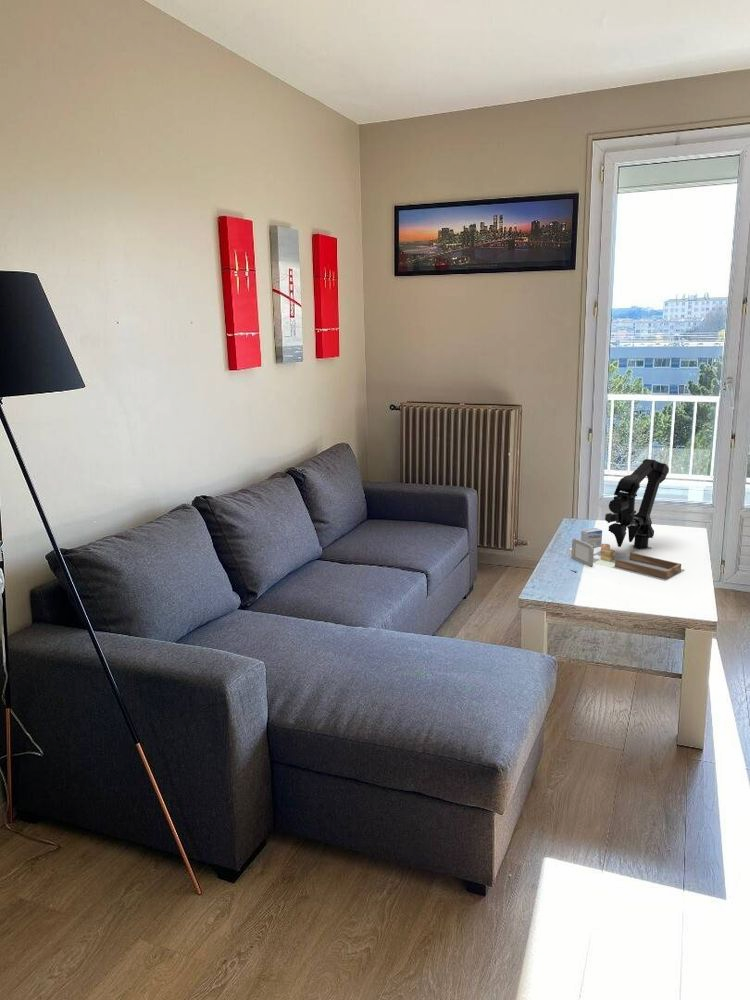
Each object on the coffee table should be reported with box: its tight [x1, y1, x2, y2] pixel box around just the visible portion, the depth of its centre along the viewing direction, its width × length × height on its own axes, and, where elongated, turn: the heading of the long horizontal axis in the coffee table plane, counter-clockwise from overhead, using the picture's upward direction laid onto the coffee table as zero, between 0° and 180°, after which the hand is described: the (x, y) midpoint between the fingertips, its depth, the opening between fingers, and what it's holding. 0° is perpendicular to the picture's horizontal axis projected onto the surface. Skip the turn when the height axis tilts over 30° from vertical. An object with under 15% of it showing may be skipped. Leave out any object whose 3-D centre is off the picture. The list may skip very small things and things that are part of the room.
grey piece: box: [570, 538, 595, 573], centre depth 306 cm, size 13×9×10 cm
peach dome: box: [600, 543, 611, 551], centre depth 317 cm, size 4×4×4 cm
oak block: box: [600, 548, 616, 562], centre depth 311 cm, size 4×4×4 cm
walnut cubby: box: [615, 552, 682, 580], centre depth 299 cm, size 13×21×3 cm, turn 44°
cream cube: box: [568, 546, 572, 556], centre depth 318 cm, size 4×4×4 cm
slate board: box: [593, 550, 686, 582], centre depth 304 cm, size 17×36×1 cm, turn 44°
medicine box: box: [580, 527, 603, 549], centre depth 328 cm, size 8×4×9 cm, turn 112°
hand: (624, 544), depth 316 cm, fingers open, 9 cm apart
